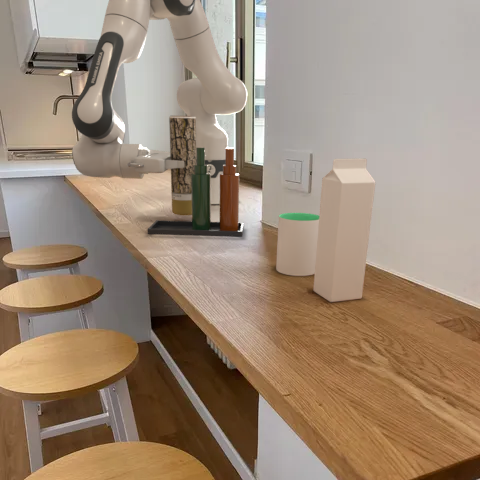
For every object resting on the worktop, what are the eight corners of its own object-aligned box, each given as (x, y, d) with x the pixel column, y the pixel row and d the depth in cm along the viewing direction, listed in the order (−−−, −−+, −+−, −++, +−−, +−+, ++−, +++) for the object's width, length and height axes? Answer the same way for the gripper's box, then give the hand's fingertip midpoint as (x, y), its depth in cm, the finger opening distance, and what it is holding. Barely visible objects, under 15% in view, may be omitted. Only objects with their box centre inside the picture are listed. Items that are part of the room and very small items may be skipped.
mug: (323, 261, 103) (327, 211, 99) (342, 272, 96) (348, 218, 92) (269, 265, 99) (272, 213, 95) (286, 277, 92) (289, 221, 88)
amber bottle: (220, 229, 128) (220, 147, 120) (238, 229, 128) (240, 147, 120) (218, 233, 123) (219, 148, 116) (237, 233, 123) (239, 149, 116)
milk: (312, 291, 85) (322, 157, 77) (343, 288, 87) (355, 156, 79) (331, 303, 80) (343, 160, 72) (362, 298, 82) (378, 159, 74)
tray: (156, 227, 132) (156, 220, 131) (243, 229, 131) (243, 222, 130) (147, 236, 121) (147, 229, 120) (242, 239, 121) (242, 231, 120)
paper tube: (186, 217, 132) (184, 116, 122) (167, 214, 135) (163, 115, 126) (201, 213, 137) (201, 116, 128) (182, 210, 141) (180, 115, 131)
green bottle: (193, 228, 128) (191, 146, 120) (211, 228, 128) (211, 147, 120) (190, 232, 124) (189, 147, 116) (209, 232, 124) (209, 148, 116)
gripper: (124, 151, 121) (180, 153, 120) (142, 146, 140) (191, 147, 139) (126, 178, 123) (181, 179, 123) (143, 169, 142) (191, 171, 142)
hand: (186, 162), depth 131 cm, fingers closed on paper tube, 7 cm apart
